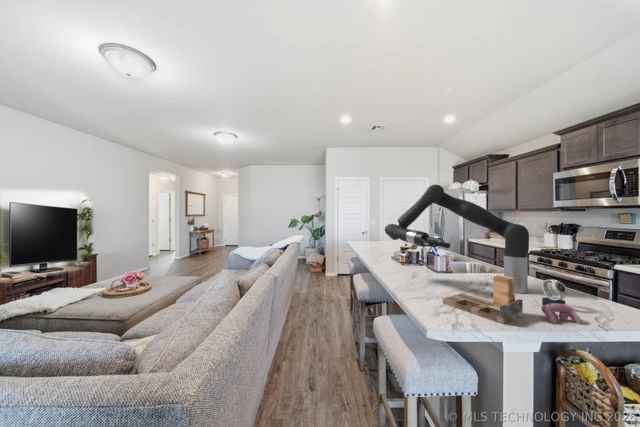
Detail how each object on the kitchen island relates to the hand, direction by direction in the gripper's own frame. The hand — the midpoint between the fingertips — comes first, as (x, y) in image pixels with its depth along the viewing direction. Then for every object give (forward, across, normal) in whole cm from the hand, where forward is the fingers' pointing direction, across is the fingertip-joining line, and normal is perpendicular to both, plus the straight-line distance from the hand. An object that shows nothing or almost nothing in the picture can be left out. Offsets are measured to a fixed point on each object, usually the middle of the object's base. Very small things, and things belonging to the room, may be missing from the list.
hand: (449, 246), depth 114 cm
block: (+26, -4, +18) cm, 31 cm away
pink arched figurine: (+39, +5, +19) cm, 44 cm away
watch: (+34, +20, +21) cm, 45 cm away
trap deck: (+19, -8, +20) cm, 29 cm away
